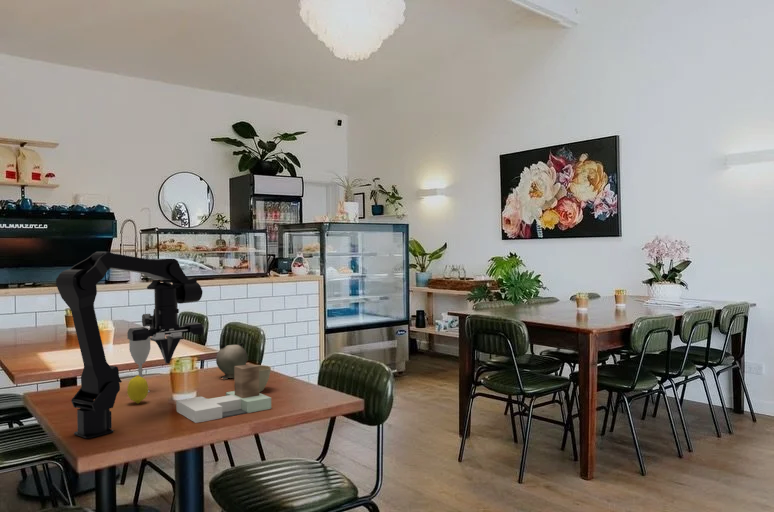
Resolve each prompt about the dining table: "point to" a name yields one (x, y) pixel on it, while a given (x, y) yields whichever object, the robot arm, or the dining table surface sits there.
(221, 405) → the board
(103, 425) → the robot arm
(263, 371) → the flower pot
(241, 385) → the walnut block
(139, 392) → the lemon
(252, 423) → the dining table surface
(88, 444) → the dining table surface
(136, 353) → the chalice
